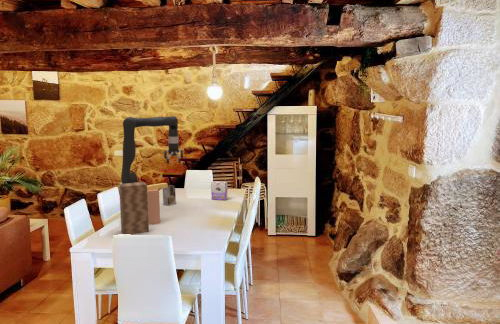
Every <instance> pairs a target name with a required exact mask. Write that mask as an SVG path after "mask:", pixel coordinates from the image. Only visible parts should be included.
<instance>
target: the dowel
mask: <svg viewBox="0 0 500 324" xmlns="http://www.w3.org/2000/svg"><path fill="white" fill-rule="evenodd" d="M167 187H168V183H167V182H162V183H155V184H149V185H148V184H147V191H149V190H155V189H158V190H160V189H163V188H167Z"/></svg>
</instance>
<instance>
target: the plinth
mask: <svg viewBox="0 0 500 324" xmlns="http://www.w3.org/2000/svg"><path fill="white" fill-rule="evenodd" d="M147 185H148V184H147V183H146V182H144V181H140V182H139V181H138V182H137V183H126V184H122V183H119V184H118V188H119V192H118V193H119V207H120V209H119V210H120V227H121V233H122V234H130V235H135V234H136V233H137V234H142V233H149V232H150V231H149V230H150V225H149V223H148V199H147Z"/></svg>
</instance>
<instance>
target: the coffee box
mask: <svg viewBox="0 0 500 324" xmlns="http://www.w3.org/2000/svg"><path fill="white" fill-rule="evenodd" d="M176 204H177V200H176V185H173V184H169V185H168V187H167V188H162V205H163V206H167V207H170V206H173V205H176Z"/></svg>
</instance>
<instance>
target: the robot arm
mask: <svg viewBox="0 0 500 324" xmlns="http://www.w3.org/2000/svg"><path fill="white" fill-rule="evenodd" d="M178 120H179V119H178V118H177V116H175V115H171V116H156V117H155V116H153V117H133V116H128V117H126V118H125V119H123V122H122V127H123V129H122V130H123V142H122V164H121V165H122V167H121V175H120V181H121V184H126V183H137V182H139V181H138V175H137V174H136V172H133V171H131V167H132V164H133V163H134V161H135V158H136V154H137V153H136V152H137V148H136V141H135V132H136V128H141V127H152V128H153V127H154V128H155V127H164V126H165V127H167V126H168V141H167V143H168V146H167V147H168V150H165V149H164V151H163V158H164V159H165V160H166V164H167V165H169V164H170V158H171V157H174V156H175V157H176V156H177V159H178V160H177V161H178V162H177V163H178V164H181V162H182V161H181V159H182V158H184V150H183V149H179V148H180V147H179V131H178V127H179V126H178V125H179V124H178V123H179V121H178ZM179 153H180V154H179ZM167 154H168V155H167Z"/></svg>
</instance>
